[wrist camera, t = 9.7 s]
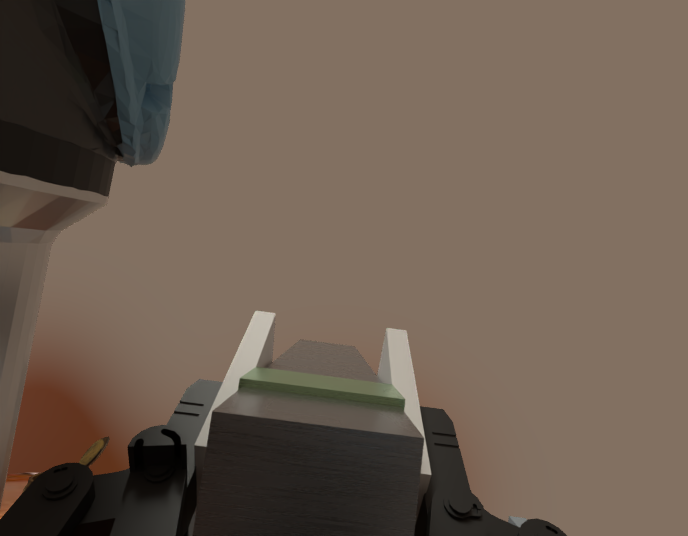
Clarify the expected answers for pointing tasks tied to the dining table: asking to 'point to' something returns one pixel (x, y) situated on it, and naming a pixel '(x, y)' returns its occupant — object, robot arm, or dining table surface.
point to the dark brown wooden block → (311, 451)
